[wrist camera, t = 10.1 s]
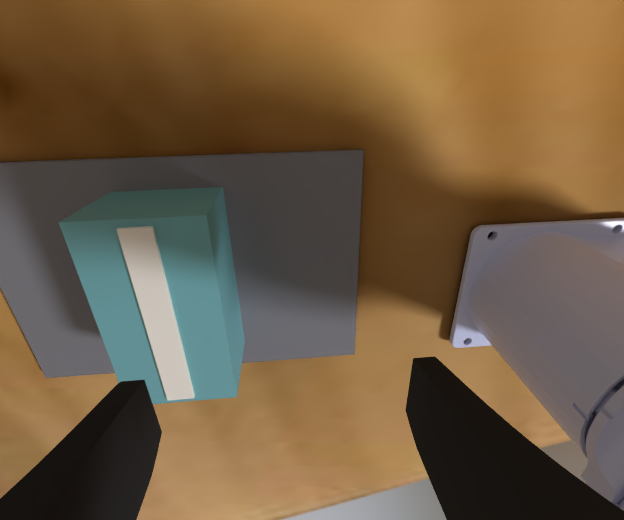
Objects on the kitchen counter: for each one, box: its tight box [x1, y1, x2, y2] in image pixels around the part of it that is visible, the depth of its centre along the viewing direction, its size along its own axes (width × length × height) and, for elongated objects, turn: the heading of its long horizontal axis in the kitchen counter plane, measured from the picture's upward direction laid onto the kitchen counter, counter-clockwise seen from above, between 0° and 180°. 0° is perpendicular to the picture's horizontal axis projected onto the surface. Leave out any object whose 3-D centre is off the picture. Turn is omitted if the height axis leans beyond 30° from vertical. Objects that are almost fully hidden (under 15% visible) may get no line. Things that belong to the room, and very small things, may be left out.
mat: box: [0, 149, 364, 378], centre depth 18 cm, size 18×12×1 cm, turn 91°
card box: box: [59, 187, 245, 404], centre depth 16 cm, size 9×5×4 cm, turn 1°
